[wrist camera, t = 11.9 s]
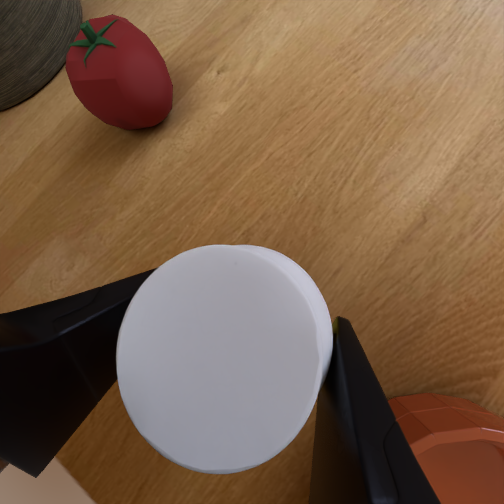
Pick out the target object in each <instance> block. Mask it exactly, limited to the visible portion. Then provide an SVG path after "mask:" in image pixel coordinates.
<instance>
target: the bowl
mask: <svg viewBox="0 0 504 504" xmlns="http://www.w3.org/2000/svg"><path fill="white" fill-rule="evenodd" d="M388 402H389V404H390V407H391V409H392V411H393V413H394V415H395V417H396V421H397V422H398V423H399V425H400V427H401V429H402V431H403V433H404V435H405V437H406V439H407V441H408V443H409V445H410V447H411V449H412V451H413V453H414V455H415V457H416V459H417V461H418V463H419V465H420V466H421V468H422V470H423V472H424V474H425V476H426V477H427V479H428V481H429V483H430V485H431V486H432V488H433V490H434V492H435V494H436V495H437V497H438V499H439V501H440V502H441V504H504V417H503V416H501V415H499V414H497V413H494V412H492V411H490V410H488V409H486V408H484V407H482V406H480V405H478V404H476V403H473V402H471V401H469V400H467V399H463V398H457V397H451V396H445V395H440V394H434V393H422V394H415V395H408V396H401V397H395V398H392V399H390V400H388Z"/></svg>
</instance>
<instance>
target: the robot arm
mask: <svg viewBox="0 0 504 504" xmlns="http://www.w3.org/2000/svg"><path fill="white" fill-rule="evenodd" d="M158 268H159V267H158ZM156 269H157V268H155V269H152V270H149V271H146V272H143V273H140V274H137V275H134V276H131V277H128V278H125V279H122V280H119V281H116V282H113V283H110V284H107V285H104V286H102V287H97V288H94V289H91V290H88V291H85V292H82V293H79V294H75V295H72V296H68V297H65V298H61V299H58V300H54V301H50V302H46V303H43V304H39V305H35V306H31V307H28V308H24V309H20V310H16V311H12V312H8V313H3V314H0V472H2V471H3V469H4V468H5V467H6V466H7V465H8V464H9V463H10V464H12V465H14V466H15V467H17V468H19V469H21V470H22V471H24V472H26V473H28V474H30V475H31V476H33V477H35V478H37V476H38V475H39V474H40V473H41V472H42V471H43V470H44V469H45V467H46V466H47V465H48V464H49V462H50V461H51V460H52V459H53V458H54V456H55V455H56V454H57V453H58V452H59V450H60V449H61V448H62V447H63V445H64V444H65V443H66V442H67V440H68V439H69V438H70V437H71V436H72V434H73V433H74V432H75V431H76V429H77V428H78V427H79V426H80V425H81V423H82V422H83V421H84V420H85V418H86V417H87V416H88V415H89V414H90V412H91V411H92V410H93V409H94V407H95V406H96V405H97V404H98V402H99V401H100V400H101V399H102V397H103V396H104V395H105V394H106V392H107V391H108V390H109V389H110V388H111V386H112V385H113V384H114V383H115V381H116V380H117V379H118V377H117V366H116V351H117V341H118V335H119V330H120V327H121V324H122V321H123V318H124V315H125V313H126V310H127V308H128V306H129V304H130V302H131V300H132V299H133V297H134V295H135V294H136V292H137V291H138V289H139V288H140V286H141V285H142V284H143V283H144V282H145V280H146V279H147V278H148V277H149V276H150V275H151V274H152V273H153V272H154V271H155V270H156ZM332 331H333V349H332V357H331V362H330V367H329V370H328V373H327V376H326V379H325V381H324V383H323V385H322V387H321V389H320V391H319V393H318V402H317V413H316V425H315V437H314V448H313V460H312V471H311V483H310V495H309V504H441V502H440V501H439V499H438V497H437V495H436V494H435V492H434V490H433V488H432V486H431V485H430V483H429V481H428V479H427V477H426V476H425V474H424V472H423V470H422V468H421V466H420V465H419V463H418V461H417V459H416V457H415V455H414V453H413V451H412V449H411V447H410V445H409V443H408V441H407V439H406V437H405V435H404V433H403V431H402V429H401V427H400V425H399V423H398V422H397V421H396V417H395V415H394V413H393V411H392V409H391V407H390V404H389V402H388V400H387V398H386V396H385V394H384V392H383V390H382V388H381V386H380V384H379V382H378V380H377V377H376V375H375V373H374V371H373V369H372V367H371V365H370V363H369V361H368V359H367V357H366V355H365V352H364V350H363V348H362V346H361V344H360V342H359V340H358V338H357V336H356V334H355V332H354V330H353V328H352V325H351V323H350V321H349V320H348V319H345V318H343V317H340V316H337V317H336V319H335V321H334V322H333V324H332Z"/></svg>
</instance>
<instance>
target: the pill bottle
mask: <svg viewBox="0 0 504 504" xmlns="http://www.w3.org/2000/svg"><path fill="white" fill-rule="evenodd" d="M332 349H333V331H332V324H331V319H330V315H329V311H328V308H327V305H326V303H325V300H324V298H323V296H322V294H321V293H320V291H319V289H318V287H317V286H316V284H315V282H314V281H313V280H312V278H311V277H310V276H309V275H308V274H307V273H306V271H304V270H303V269H302V268H301V267H300V266H299V265H298V264H297V263H295V262H294V261H293V260H291V259H290V258H288V257H286V256H285V255H283V254H281V253H279V252H277V251H274V250H271V249H268V248H264V247H260V246H254V245H234V246H232V245H209V246H203V247H198V248H194V249H191V250H188V251H186V252H183V253H181V254H179V255H177V256H175V257H174V258H172V259H170V260H168V261H167V262H165V263H164V264H162V265H161V266H160V267H159V268H157V269H156V270H155V271H154V272H153V273H152V274H151V275H150V276H149V277H148V278H147V279H146V280H145V282H144V283H143V284H142V285H141V286H140V288H139V289H138V291H137V292H136V294H135V295H134V297H133V299H132V300H131V302H130V304H129V306H128V308H127V310H126V313H125V315H124V318H123V321H122V324H121V327H120V330H119V335H118V341H117V351H116V366H117V377H118V384H119V388H120V393H121V397H122V400H123V402H124V405H125V407H126V410H127V412H128V414H129V416H130V418H131V420H132V422H133V424H134V425H135V427H136V429H137V430H138V431H139V433H140V434H141V435H142V436H143V437H144V439H145V440H146V441H147V442H148V443H149V444H150V445H151V446H152V447H153V448H154V449H155V450H156V451H157V452H158V453H160V454H161V455H162V456H164V457H165V458H167V459H169V460H170V461H172V462H174V463H176V464H178V465H180V466H182V467H185V468H187V469H190V470H193V471H197V472H202V473H209V474H230V473H236V472H241V471H244V470H247V469H250V468H254V467H256V466H258V465H260V464H262V463H264V462H266V461H268V460H270V459H271V458H273V457H274V456H276V455H277V454H278V453H280V452H281V451H282V450H283V449H284V448H285V447H286V446H288V445H289V443H290V442H291V441H292V440H293V439H294V438H295V437H296V435H297V434H298V433H299V431H300V430H301V428H302V427H303V426H304V424H305V423H306V421H307V419H308V417H309V415H310V413H311V411H312V409H313V406H314V404H315V401H316V398H317V395H318V393H319V391H320V389H321V387H322V385H323V383H324V381H325V379H326V376H327V373H328V370H329V367H330V362H331V357H332Z"/></svg>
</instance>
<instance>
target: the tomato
mask: <svg viewBox="0 0 504 504" xmlns="http://www.w3.org/2000/svg"><path fill="white" fill-rule="evenodd" d="M80 29H81V31H80V32H79V34H78V36H77V37H76V39H75V41H74V42H73V43H71V44H70V45H69V47H70V49H69V51H68V53H67V56H66V71H67V74H68V77H69V80H70V83H71V85H72V88H73V91H74V93H75V95H76V96H77V97H78V99H79V100H80V101H81V103H82V104H83V105H84V107H85V108H86V109H88V110H89V111H90V112H91V113H92V114H93V115H95V116H96V117H98V118H99V119H100V120H102V121H103V122H105V123H106V124H109V125H113V126H116V127H119V128H123V129H126V130H132V129H138V128H145V127H152V126H154V125H156V124H158V123H160V122H161V121H162V120H164V119H165V118H166V117H167V115H168V114H169V112H170V111H171V109H172V96H173V85H172V82H171V79H170V76H169V73H168V70H167V67H166V64H165V61H164V59H163V58H162V56H161V55H160V53H159V52H158V50H157V48H156V47H155V46H154V44H153V43H152V42H151V40H150V39H149V38H148V36H147V35H146V34H145V33H143V32H142V31H141V30H139V29H138V28H137V27H135V26H134V25H133V24H132V23H130V22H129V21H128V20H127V19H126V18H123V17H119V16H116V15H113V14H112V15H108V16H105V17H100V18H94V19H90V20H89V21H88V20H87V21H86V23H85V22H84V23H82V24H81V25H80ZM69 47H68V48H69ZM68 48H67V49H68Z"/></svg>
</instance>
